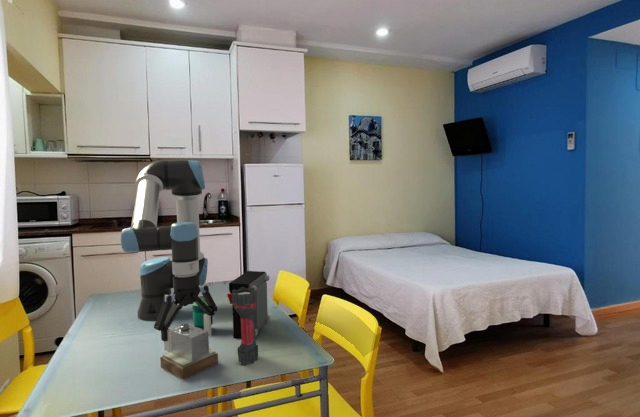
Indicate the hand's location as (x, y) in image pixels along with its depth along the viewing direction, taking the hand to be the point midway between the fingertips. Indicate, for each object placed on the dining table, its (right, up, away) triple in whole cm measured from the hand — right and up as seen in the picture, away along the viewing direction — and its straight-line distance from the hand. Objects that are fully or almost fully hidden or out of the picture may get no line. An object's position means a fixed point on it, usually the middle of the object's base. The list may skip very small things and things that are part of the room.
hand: (188, 342), depth 115 cm
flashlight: (+17, -7, +2) cm, 19 cm away
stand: (0, -7, +1) cm, 7 cm away
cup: (-4, -5, +28) cm, 29 cm away
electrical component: (+14, -5, +28) cm, 31 cm away
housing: (0, -3, 0) cm, 3 cm away
